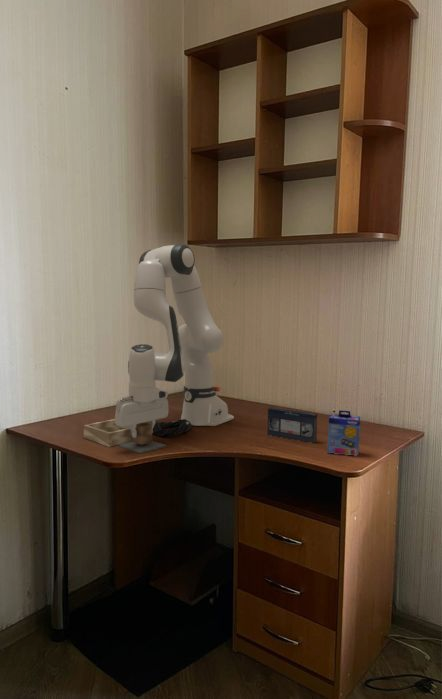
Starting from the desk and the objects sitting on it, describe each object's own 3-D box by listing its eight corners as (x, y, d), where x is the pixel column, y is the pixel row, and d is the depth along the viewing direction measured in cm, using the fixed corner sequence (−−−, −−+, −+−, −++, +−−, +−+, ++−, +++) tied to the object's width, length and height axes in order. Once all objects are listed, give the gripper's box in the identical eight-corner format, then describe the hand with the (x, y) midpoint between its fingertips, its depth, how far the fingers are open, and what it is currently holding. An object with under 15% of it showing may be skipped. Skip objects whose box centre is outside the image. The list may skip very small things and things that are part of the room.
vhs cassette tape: (266, 435, 198) (267, 408, 197) (271, 433, 200) (271, 407, 199) (313, 444, 188) (314, 415, 186) (316, 442, 190) (317, 414, 189)
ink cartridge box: (326, 454, 176) (328, 410, 175) (328, 449, 182) (330, 406, 180) (358, 457, 174) (360, 412, 172) (359, 452, 179) (360, 408, 177)
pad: (144, 440, 189) (144, 438, 189) (165, 446, 182) (165, 444, 182) (118, 446, 181) (118, 444, 181) (139, 453, 174) (139, 451, 174)
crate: (121, 429, 203) (121, 417, 202) (146, 437, 193) (146, 425, 192) (83, 437, 191) (83, 425, 191) (109, 446, 181) (109, 433, 180)
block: (143, 439, 185) (143, 422, 184) (151, 442, 182) (151, 424, 181) (132, 441, 182) (132, 424, 181) (141, 444, 179) (141, 426, 178)
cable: (179, 440, 191) (179, 428, 190) (142, 436, 195) (142, 425, 194) (194, 428, 207) (194, 417, 207) (160, 425, 211) (160, 414, 211)
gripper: (122, 400, 170) (123, 443, 172) (171, 391, 185) (171, 431, 187) (110, 397, 174) (110, 439, 176) (159, 388, 189) (159, 427, 191)
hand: (142, 435), depth 181 cm, fingers closed on block, 4 cm apart
